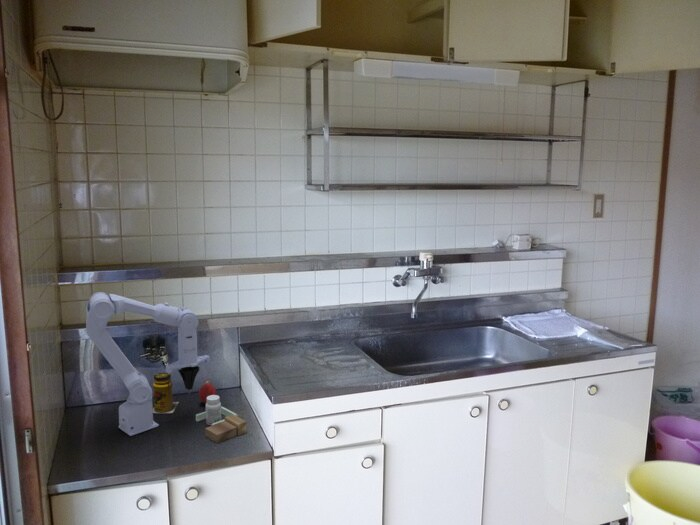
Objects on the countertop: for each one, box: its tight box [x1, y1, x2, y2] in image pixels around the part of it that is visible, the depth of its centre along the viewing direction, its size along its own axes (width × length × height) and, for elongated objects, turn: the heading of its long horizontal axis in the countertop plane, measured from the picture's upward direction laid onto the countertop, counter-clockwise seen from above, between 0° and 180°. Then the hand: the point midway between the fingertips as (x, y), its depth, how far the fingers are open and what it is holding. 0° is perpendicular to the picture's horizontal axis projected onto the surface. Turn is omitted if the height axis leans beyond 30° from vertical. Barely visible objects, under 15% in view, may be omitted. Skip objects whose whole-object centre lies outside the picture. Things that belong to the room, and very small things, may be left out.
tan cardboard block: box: [204, 421, 238, 444], centre depth 178 cm, size 7×6×3 cm
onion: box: [198, 380, 217, 404], centre depth 199 cm, size 6×6×8 cm
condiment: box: [152, 371, 180, 414], centre depth 195 cm, size 7×8×12 cm
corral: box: [195, 405, 240, 426], centre depth 188 cm, size 10×10×2 cm
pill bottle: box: [205, 394, 222, 426], centre depth 186 cm, size 5×5×8 cm
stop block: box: [224, 414, 247, 436], centre depth 182 cm, size 3×7×4 cm, turn 47°
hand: (188, 388), depth 188 cm, fingers closed
